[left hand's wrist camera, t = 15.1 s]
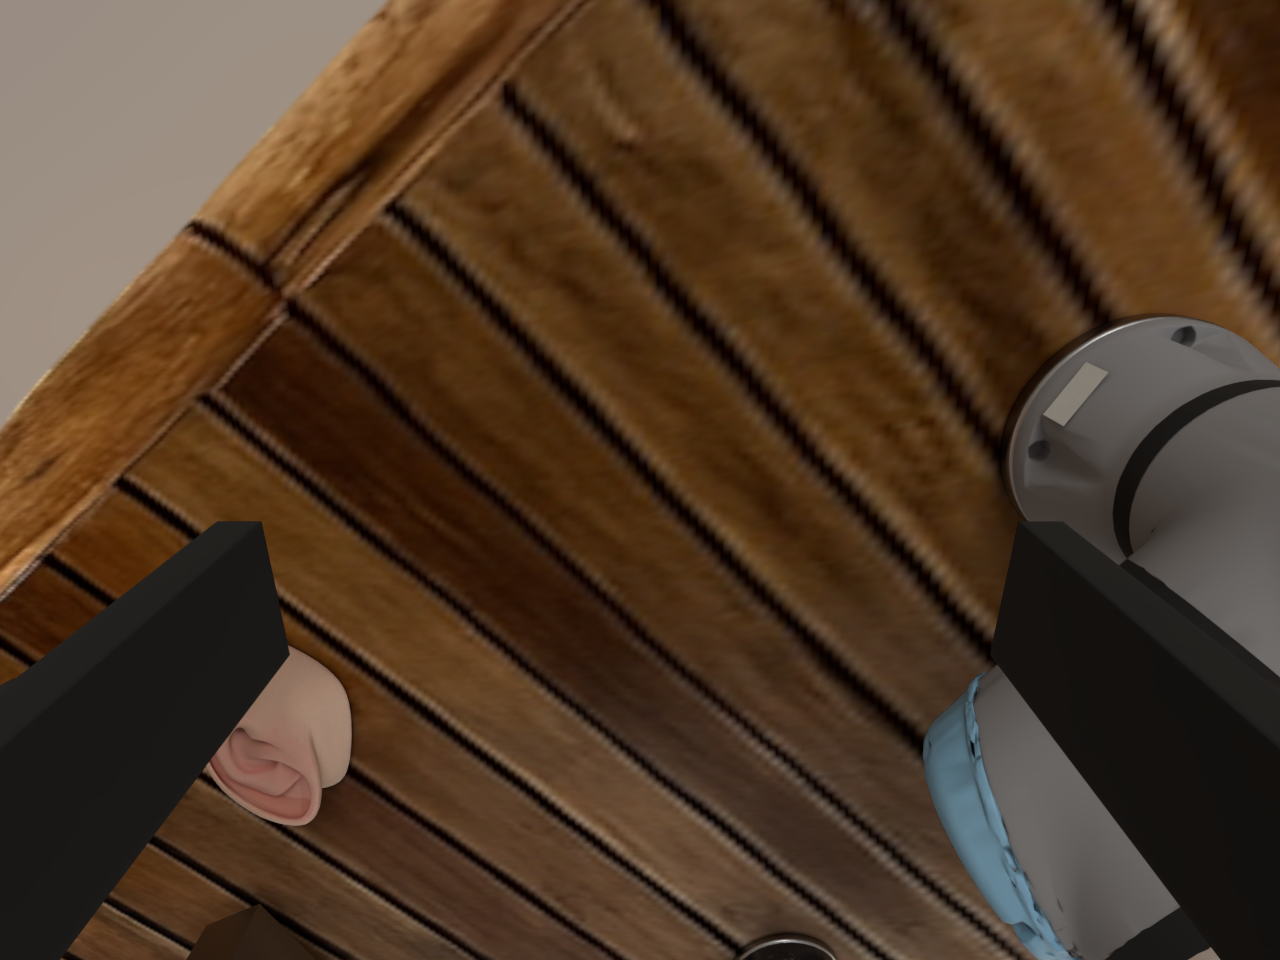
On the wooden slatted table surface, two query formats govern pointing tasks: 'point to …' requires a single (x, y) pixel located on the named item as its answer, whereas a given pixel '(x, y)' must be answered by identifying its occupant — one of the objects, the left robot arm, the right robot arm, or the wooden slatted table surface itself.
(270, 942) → the bar
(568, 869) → the wooden slatted table surface
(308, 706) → the anatomical model
